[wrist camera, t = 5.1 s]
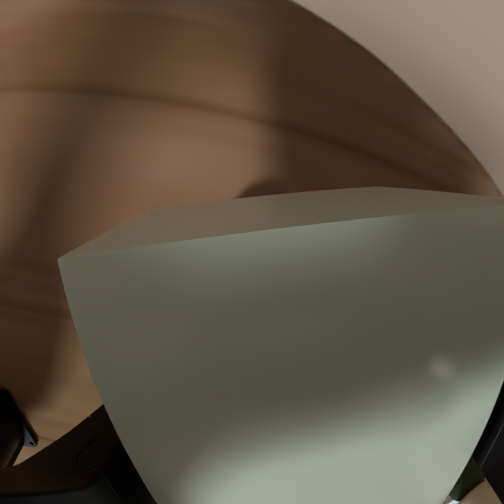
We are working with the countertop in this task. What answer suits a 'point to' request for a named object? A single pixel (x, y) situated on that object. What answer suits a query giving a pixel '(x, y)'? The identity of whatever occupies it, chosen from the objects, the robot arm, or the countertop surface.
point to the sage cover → (297, 343)
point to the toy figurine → (473, 487)
